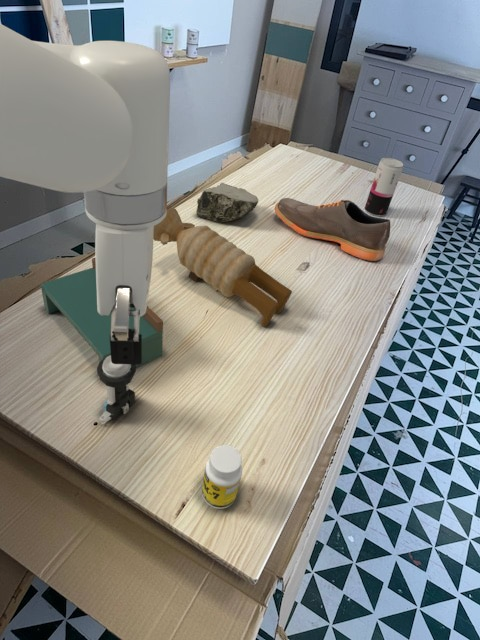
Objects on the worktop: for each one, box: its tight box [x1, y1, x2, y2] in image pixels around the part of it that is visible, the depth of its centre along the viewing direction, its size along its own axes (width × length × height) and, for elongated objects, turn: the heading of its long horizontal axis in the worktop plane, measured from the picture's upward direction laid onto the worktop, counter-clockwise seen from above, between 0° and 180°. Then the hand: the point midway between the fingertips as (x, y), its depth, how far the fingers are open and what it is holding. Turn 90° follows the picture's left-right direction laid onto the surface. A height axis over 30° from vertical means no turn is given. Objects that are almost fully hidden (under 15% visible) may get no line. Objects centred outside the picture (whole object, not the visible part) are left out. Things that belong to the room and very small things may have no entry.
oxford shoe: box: [274, 197, 391, 262], centre depth 119 cm, size 11×31×11 cm, turn 60°
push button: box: [96, 355, 137, 426], centre depth 68 cm, size 7×5×10 cm
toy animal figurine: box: [153, 207, 293, 328], centre depth 95 cm, size 10×12×30 cm
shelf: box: [40, 257, 164, 374], centre depth 81 cm, size 11×22×8 cm, turn 42°
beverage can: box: [364, 157, 404, 217], centre depth 133 cm, size 6×7×15 cm
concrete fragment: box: [195, 182, 259, 223], centre depth 121 cm, size 15×10×15 cm
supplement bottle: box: [201, 444, 243, 510], centre depth 60 cm, size 5×5×8 cm
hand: (130, 332), depth 54 cm, fingers open, 9 cm apart
